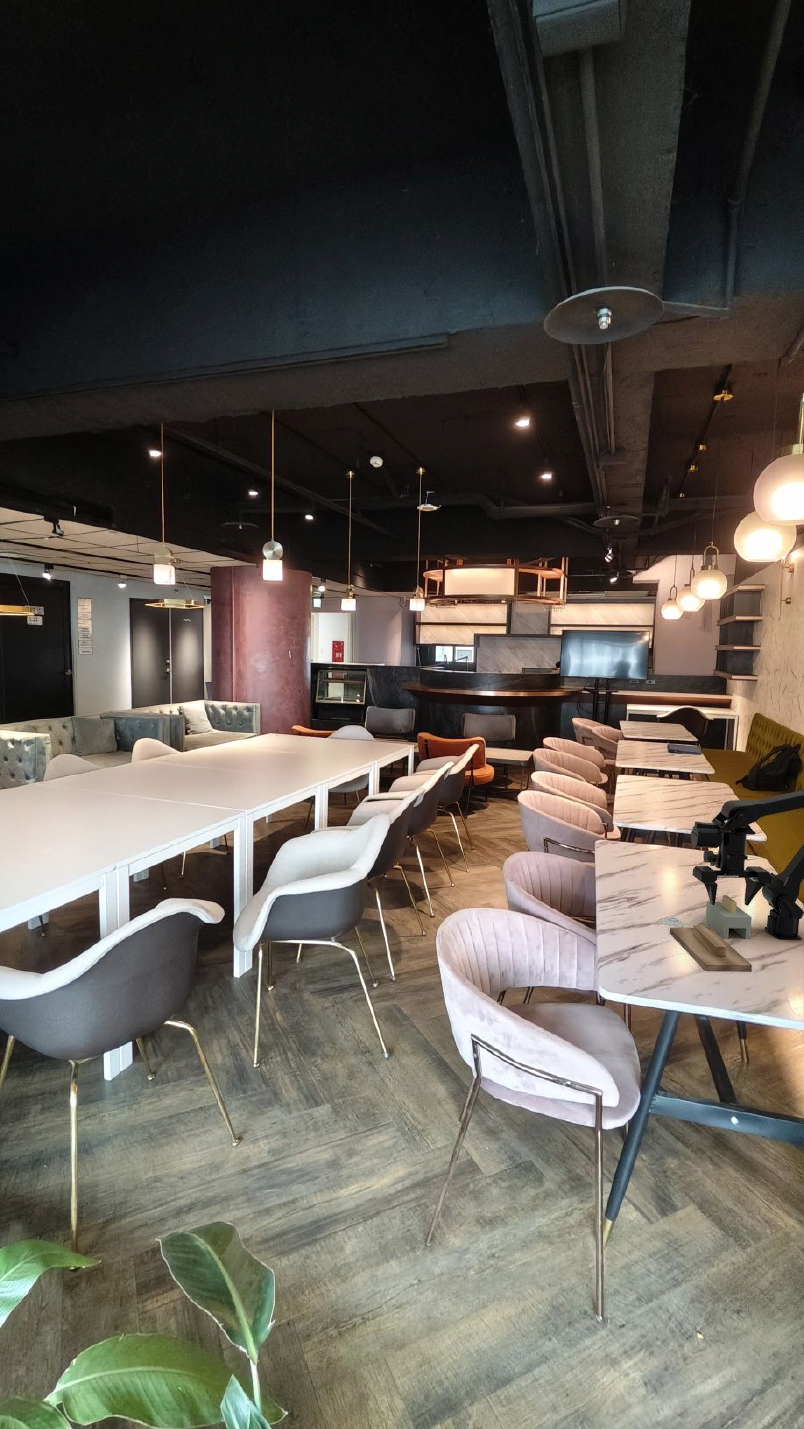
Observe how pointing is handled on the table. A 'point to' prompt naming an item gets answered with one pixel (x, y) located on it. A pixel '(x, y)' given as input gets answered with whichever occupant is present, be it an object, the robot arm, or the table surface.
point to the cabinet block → (728, 918)
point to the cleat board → (707, 956)
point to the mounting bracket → (672, 922)
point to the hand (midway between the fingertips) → (729, 905)
